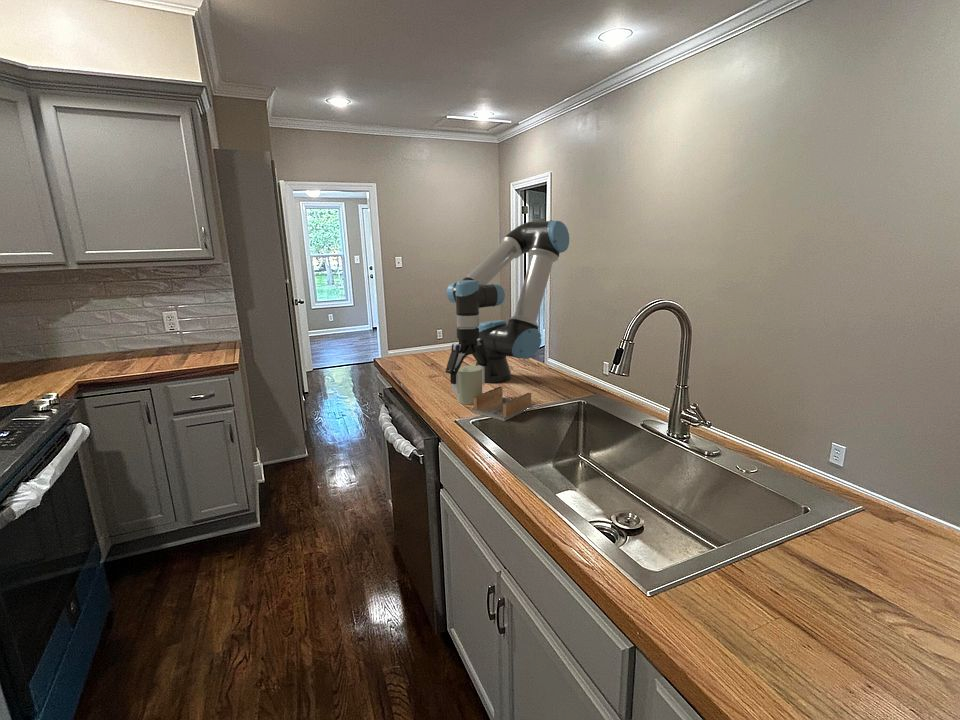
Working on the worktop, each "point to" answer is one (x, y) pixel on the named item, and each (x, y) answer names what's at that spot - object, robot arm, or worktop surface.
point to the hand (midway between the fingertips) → (468, 388)
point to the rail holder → (500, 404)
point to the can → (469, 383)
